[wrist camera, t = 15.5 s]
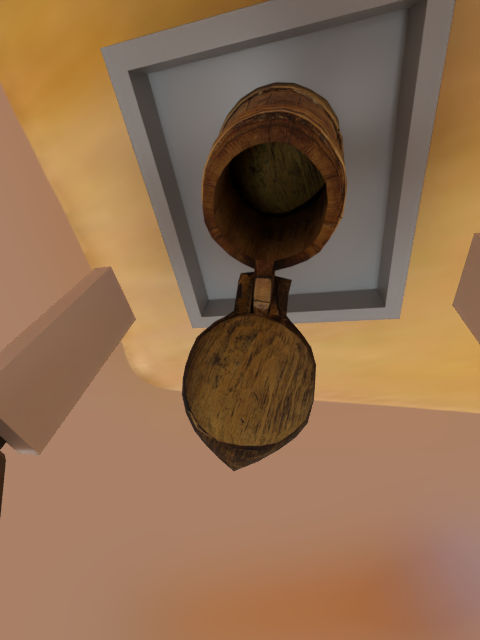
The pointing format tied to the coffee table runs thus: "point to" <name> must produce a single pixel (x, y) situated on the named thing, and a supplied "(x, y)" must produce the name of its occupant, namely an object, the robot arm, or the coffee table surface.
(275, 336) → the wooden mug
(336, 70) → the slate tray
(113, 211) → the coffee table surface
